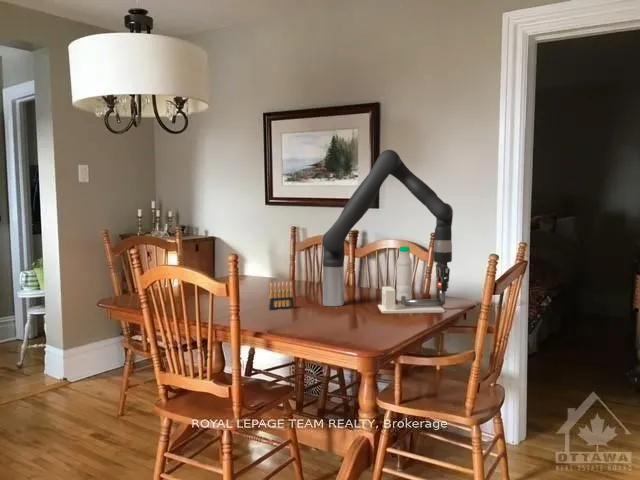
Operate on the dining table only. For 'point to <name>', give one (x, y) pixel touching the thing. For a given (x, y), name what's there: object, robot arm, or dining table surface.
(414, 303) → the ball knob lever
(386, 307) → the cream l-shaped stand
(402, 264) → the water bottle
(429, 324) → the dining table surface
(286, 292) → the ammunition clip
